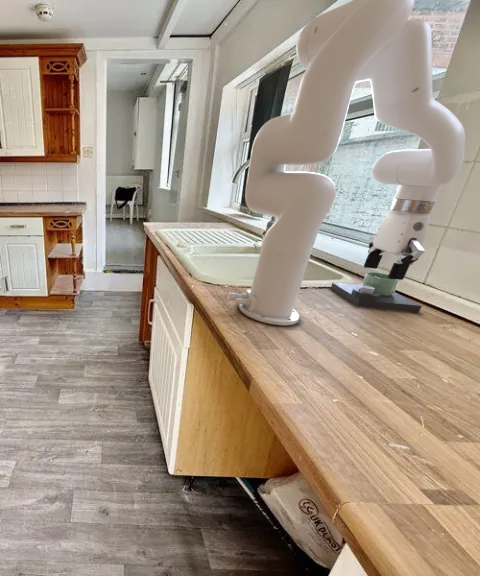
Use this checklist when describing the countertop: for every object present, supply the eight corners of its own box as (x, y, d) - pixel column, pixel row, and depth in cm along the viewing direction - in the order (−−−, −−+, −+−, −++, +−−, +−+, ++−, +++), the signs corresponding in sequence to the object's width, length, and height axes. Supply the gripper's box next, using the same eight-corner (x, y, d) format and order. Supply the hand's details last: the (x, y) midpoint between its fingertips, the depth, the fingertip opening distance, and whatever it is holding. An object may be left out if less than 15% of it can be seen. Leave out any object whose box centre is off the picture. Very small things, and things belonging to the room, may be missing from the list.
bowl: (370, 295, 82) (377, 278, 80) (355, 286, 88) (361, 271, 86) (399, 297, 81) (406, 281, 79) (381, 288, 87) (388, 273, 85)
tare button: (363, 294, 79) (365, 288, 78) (357, 290, 81) (359, 284, 80) (374, 295, 78) (377, 289, 78) (368, 291, 81) (370, 285, 80)
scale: (356, 306, 79) (361, 294, 77) (329, 288, 91) (333, 277, 90) (419, 313, 77) (425, 300, 75) (383, 293, 89) (387, 282, 87)
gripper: (459, 213, 67) (423, 285, 73) (400, 206, 83) (375, 265, 89) (421, 210, 68) (389, 281, 75) (370, 203, 84) (347, 262, 90)
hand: (381, 273), depth 82 cm, fingers open, 9 cm apart
